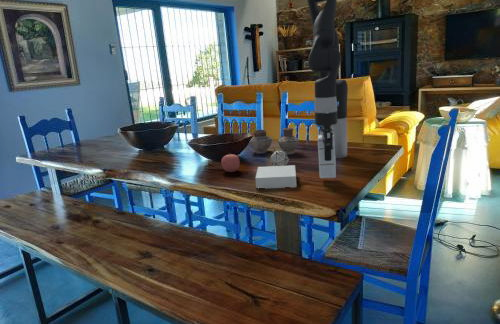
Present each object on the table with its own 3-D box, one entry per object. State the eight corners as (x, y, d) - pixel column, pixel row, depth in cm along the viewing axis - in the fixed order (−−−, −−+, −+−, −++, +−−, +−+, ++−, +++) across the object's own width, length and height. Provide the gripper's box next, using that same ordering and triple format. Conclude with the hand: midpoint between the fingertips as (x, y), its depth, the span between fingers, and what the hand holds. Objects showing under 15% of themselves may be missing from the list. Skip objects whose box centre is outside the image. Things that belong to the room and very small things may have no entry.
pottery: (295, 156, 169) (294, 130, 166) (246, 154, 180) (244, 130, 177) (302, 150, 179) (301, 126, 176) (255, 149, 190) (253, 126, 187)
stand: (258, 176, 142) (258, 166, 141) (295, 175, 141) (294, 165, 140) (256, 188, 129) (255, 177, 128) (296, 187, 128) (295, 176, 127)
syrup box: (336, 178, 128) (335, 137, 124) (318, 178, 129) (317, 137, 125) (335, 173, 133) (334, 133, 129) (319, 173, 134) (317, 134, 130)
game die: (276, 176, 153) (266, 156, 156) (294, 168, 153) (284, 147, 156) (274, 172, 145) (263, 150, 147) (293, 163, 144) (282, 141, 147)
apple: (233, 175, 147) (232, 155, 145) (219, 173, 151) (217, 154, 149) (243, 170, 153) (242, 151, 151) (229, 168, 157) (227, 150, 155)
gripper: (312, 108, 132) (314, 153, 136) (316, 114, 118) (318, 164, 123) (334, 106, 131) (335, 152, 136) (340, 112, 117) (340, 163, 122)
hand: (326, 157), depth 129 cm, fingers closed on syrup box, 6 cm apart
